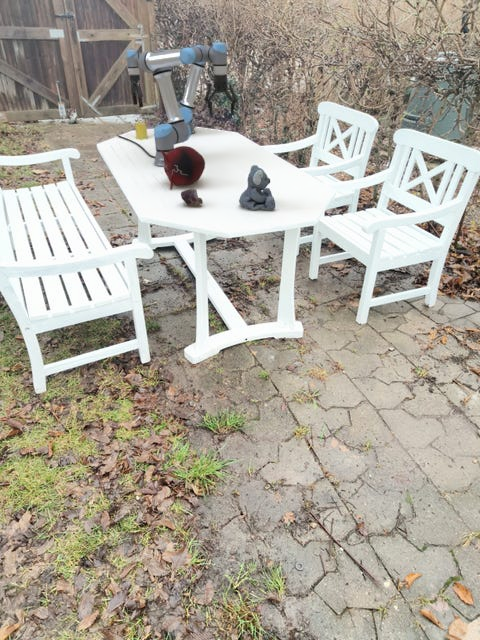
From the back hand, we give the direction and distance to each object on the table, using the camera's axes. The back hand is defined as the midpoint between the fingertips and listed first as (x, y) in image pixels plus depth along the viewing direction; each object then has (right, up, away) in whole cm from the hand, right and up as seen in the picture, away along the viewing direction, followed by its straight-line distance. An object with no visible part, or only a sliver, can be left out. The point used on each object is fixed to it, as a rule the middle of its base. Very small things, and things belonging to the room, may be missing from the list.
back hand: (138, 106), depth 342 cm
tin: (0, -19, +13) cm, 23 cm away
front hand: (+67, -41, -75) cm, 108 cm away
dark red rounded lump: (+46, -84, -81) cm, 125 cm away
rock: (+53, -104, -111) cm, 161 cm away
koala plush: (+86, -105, -113) cm, 176 cm away
